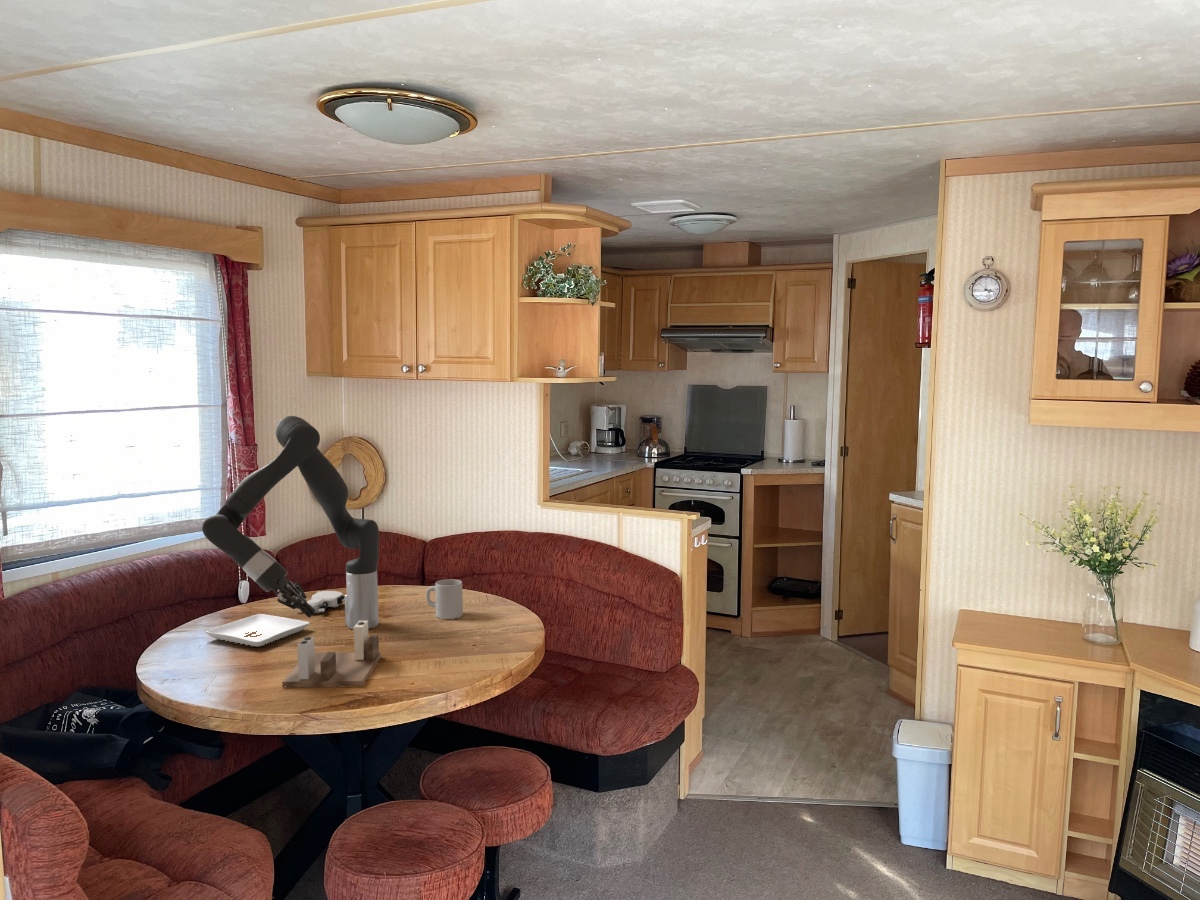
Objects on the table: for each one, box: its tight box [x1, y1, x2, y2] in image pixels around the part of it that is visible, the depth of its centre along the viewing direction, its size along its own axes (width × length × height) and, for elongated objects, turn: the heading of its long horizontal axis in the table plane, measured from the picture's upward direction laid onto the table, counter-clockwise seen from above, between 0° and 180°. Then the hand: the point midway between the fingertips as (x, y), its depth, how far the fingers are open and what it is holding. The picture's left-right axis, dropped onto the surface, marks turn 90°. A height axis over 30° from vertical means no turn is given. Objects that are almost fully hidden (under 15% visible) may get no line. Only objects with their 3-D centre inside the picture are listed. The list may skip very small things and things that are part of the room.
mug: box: [425, 578, 464, 620], centre depth 285 cm, size 12×8×11 cm
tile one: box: [353, 621, 369, 660], centre depth 242 cm, size 2×6×9 cm, turn 2°
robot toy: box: [294, 590, 345, 614], centre depth 293 cm, size 12×4×15 cm
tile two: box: [297, 636, 316, 679], centre depth 228 cm, size 2×6×9 cm, turn 2°
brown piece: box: [281, 634, 382, 688], centre depth 235 cm, size 20×22×6 cm
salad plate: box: [205, 613, 310, 648], centre depth 265 cm, size 21×21×3 cm
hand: (312, 614), depth 241 cm, fingers closed
